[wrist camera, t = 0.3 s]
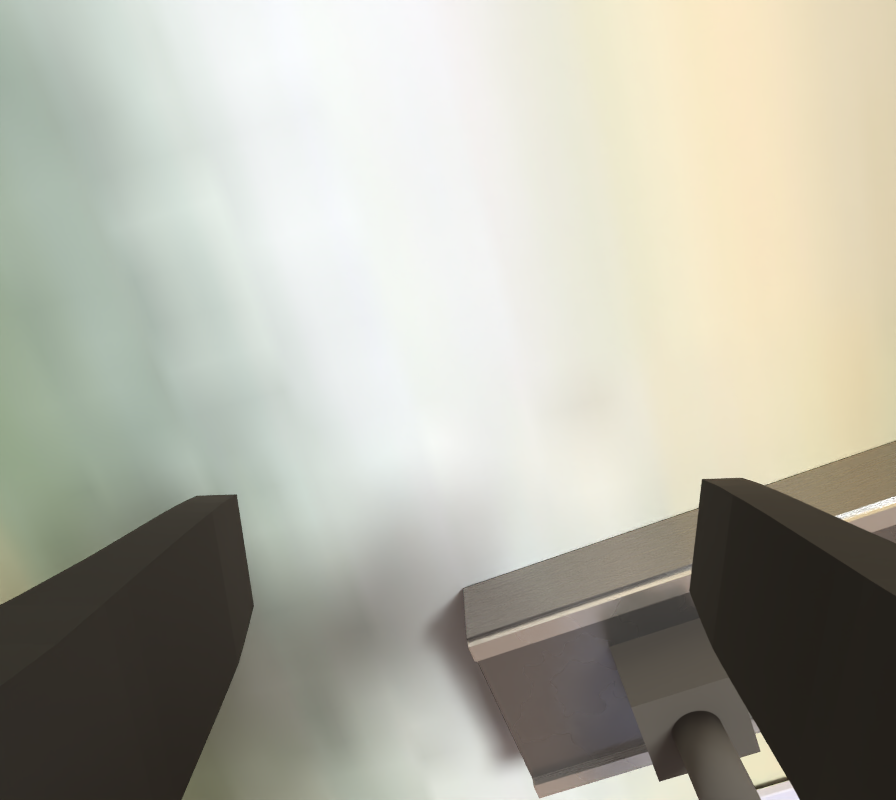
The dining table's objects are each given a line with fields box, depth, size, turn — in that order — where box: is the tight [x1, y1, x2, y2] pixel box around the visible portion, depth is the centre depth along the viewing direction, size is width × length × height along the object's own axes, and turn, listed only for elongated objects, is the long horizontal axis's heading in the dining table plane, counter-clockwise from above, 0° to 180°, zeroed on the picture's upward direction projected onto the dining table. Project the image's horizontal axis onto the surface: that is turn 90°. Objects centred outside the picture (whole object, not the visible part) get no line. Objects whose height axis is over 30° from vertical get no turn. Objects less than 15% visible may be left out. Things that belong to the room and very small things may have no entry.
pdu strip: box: [463, 441, 896, 798], centre depth 21 cm, size 7×24×3 cm, turn 111°
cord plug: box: [609, 618, 761, 800], centre depth 18 cm, size 3×3×5 cm
